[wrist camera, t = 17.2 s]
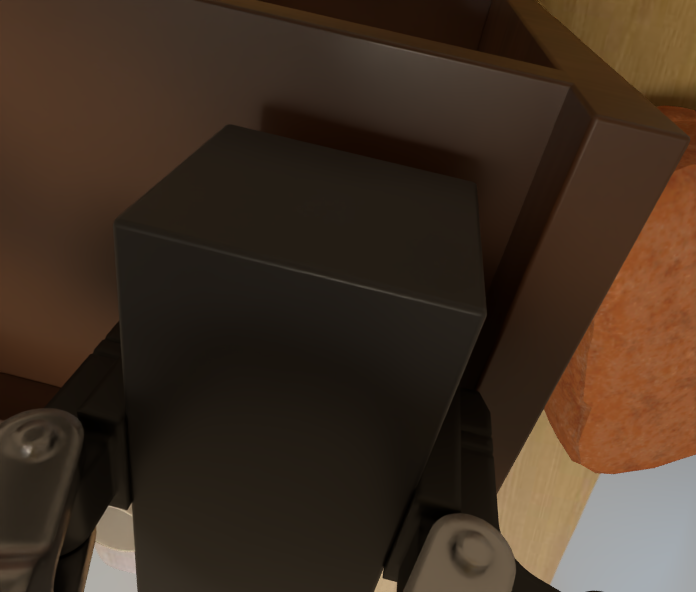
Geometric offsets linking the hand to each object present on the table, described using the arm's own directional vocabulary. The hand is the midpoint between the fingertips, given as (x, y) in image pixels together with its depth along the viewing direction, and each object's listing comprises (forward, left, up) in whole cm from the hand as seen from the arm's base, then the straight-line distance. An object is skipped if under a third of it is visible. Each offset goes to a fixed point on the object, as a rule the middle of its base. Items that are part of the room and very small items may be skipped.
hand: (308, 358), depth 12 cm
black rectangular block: (0, 0, -1) cm, 1 cm away
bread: (+12, +22, -23) cm, 34 cm away
